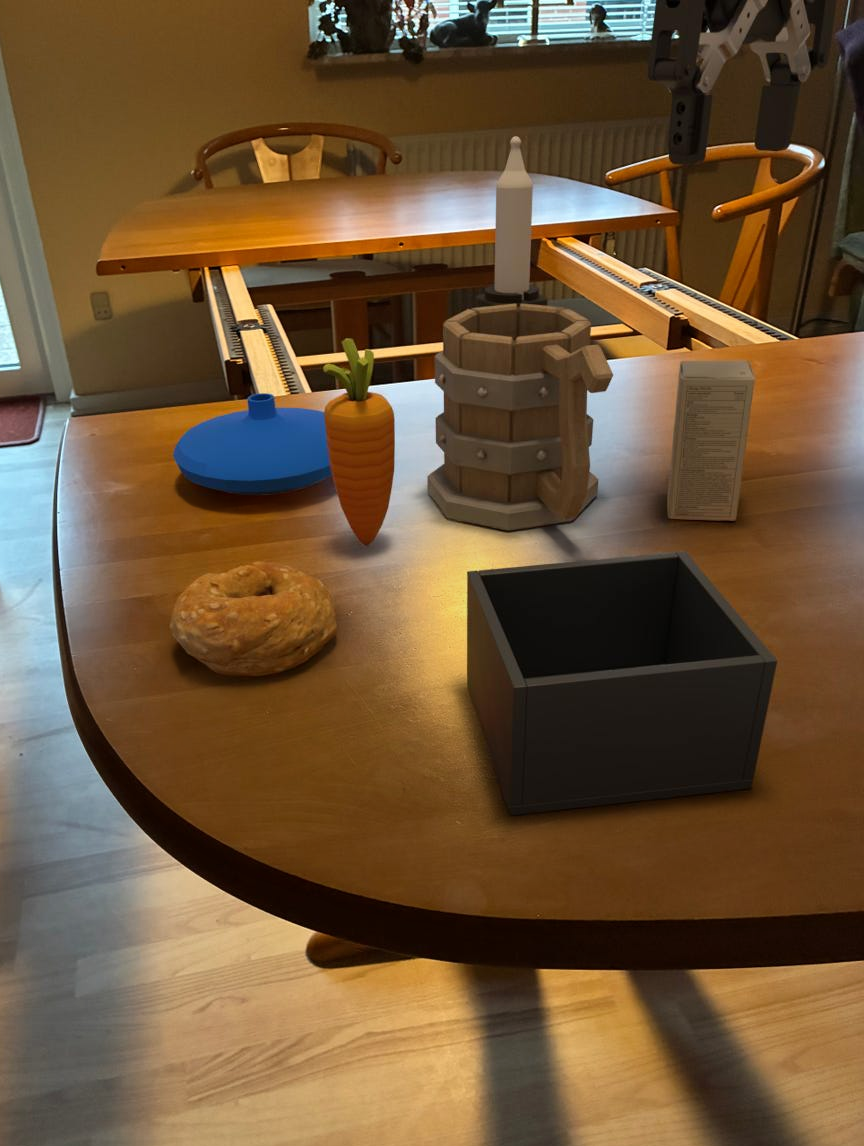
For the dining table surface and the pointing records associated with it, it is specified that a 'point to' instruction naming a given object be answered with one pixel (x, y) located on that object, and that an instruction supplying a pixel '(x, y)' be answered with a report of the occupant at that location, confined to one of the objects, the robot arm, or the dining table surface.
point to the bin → (613, 682)
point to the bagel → (254, 619)
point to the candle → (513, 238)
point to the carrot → (360, 445)
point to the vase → (256, 449)
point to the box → (709, 439)
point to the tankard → (516, 416)
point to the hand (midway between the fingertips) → (730, 156)
